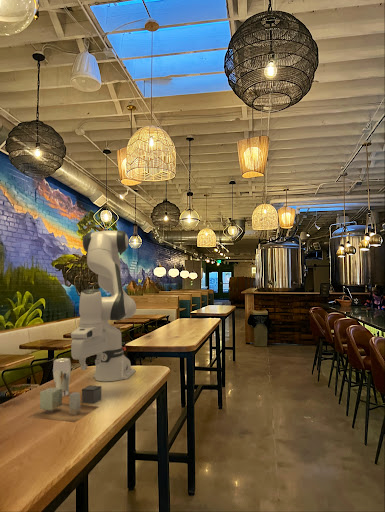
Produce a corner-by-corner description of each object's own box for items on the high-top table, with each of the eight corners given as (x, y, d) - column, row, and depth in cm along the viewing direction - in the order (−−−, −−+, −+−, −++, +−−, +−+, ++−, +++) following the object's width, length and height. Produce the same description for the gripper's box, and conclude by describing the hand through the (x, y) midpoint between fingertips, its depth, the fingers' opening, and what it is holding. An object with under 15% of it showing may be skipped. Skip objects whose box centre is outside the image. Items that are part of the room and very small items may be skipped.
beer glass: (65, 399, 147) (65, 361, 148) (49, 399, 149) (49, 361, 149) (74, 394, 154) (74, 358, 155) (59, 393, 155) (59, 357, 156)
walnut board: (56, 405, 141) (56, 402, 141) (99, 409, 135) (99, 406, 135) (27, 419, 127) (27, 416, 127) (74, 425, 121) (74, 422, 121)
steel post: (74, 412, 130) (73, 392, 131) (80, 412, 129) (80, 392, 130) (69, 414, 128) (69, 394, 128) (75, 415, 127) (75, 394, 127)
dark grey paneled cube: (89, 400, 145) (89, 385, 145) (101, 401, 144) (101, 386, 144) (82, 405, 140) (81, 389, 141) (93, 406, 139) (93, 390, 139)
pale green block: (49, 408, 135) (49, 387, 135) (61, 409, 133) (61, 388, 134) (40, 413, 130) (40, 391, 130) (52, 414, 128) (52, 392, 129)
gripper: (98, 327, 154) (98, 361, 153) (68, 334, 135) (68, 372, 134) (111, 327, 152) (112, 361, 151) (82, 334, 133) (83, 373, 132)
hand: (91, 366), depth 142 cm, fingers open, 8 cm apart
